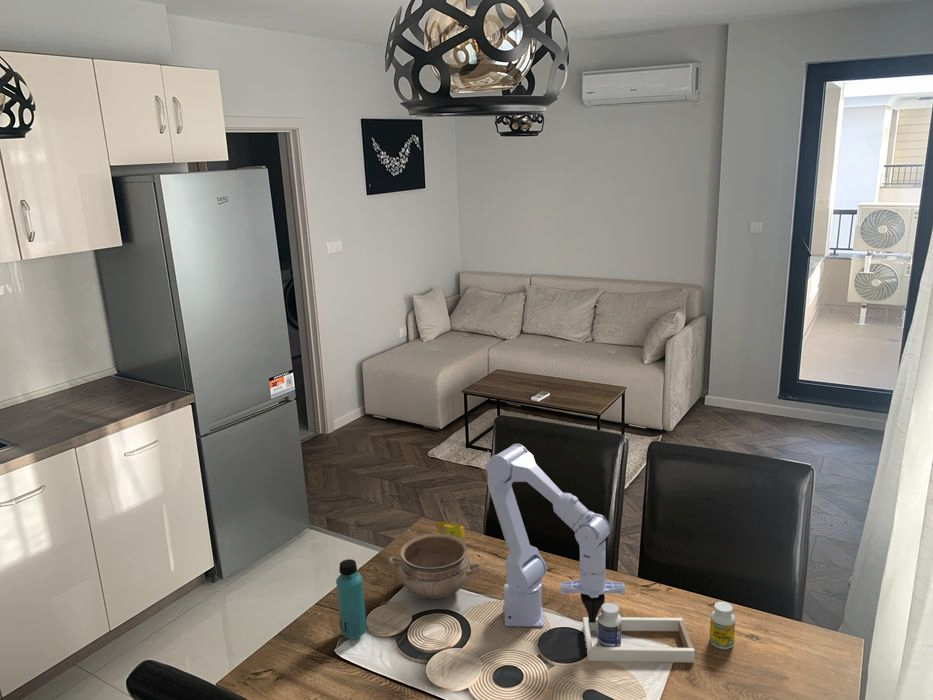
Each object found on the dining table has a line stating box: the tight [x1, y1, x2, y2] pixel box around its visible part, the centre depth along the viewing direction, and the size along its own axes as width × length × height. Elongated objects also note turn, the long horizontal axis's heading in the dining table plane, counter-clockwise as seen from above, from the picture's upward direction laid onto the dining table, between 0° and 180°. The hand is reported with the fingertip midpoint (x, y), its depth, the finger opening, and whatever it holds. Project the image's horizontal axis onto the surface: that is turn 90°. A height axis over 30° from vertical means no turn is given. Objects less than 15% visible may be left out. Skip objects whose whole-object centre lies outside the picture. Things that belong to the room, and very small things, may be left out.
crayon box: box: [436, 520, 466, 544], centre depth 203 cm, size 7×3×12 cm, turn 69°
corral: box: [582, 616, 696, 663], centre depth 164 cm, size 24×12×3 cm, turn 87°
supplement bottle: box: [709, 601, 736, 650], centre depth 163 cm, size 5×5×10 cm
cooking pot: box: [388, 533, 482, 600], centre depth 187 cm, size 25×19×12 cm
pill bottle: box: [597, 602, 622, 647], centre depth 164 cm, size 5×5×10 cm
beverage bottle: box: [335, 558, 368, 639], centre depth 169 cm, size 6×7×20 cm
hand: (591, 620), depth 164 cm, fingers closed
